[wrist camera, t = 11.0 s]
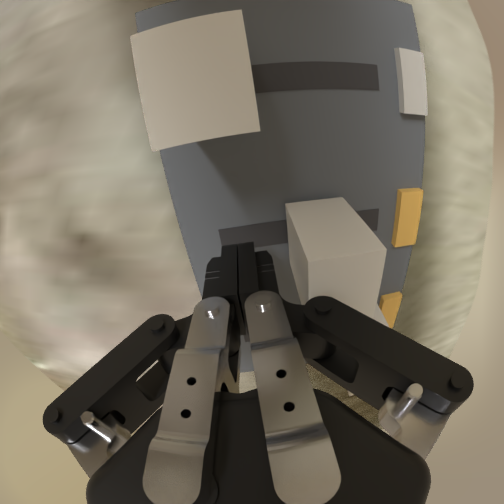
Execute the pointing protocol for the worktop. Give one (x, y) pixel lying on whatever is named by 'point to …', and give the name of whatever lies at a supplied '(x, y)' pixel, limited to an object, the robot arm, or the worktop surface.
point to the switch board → (309, 134)
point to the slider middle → (334, 253)
